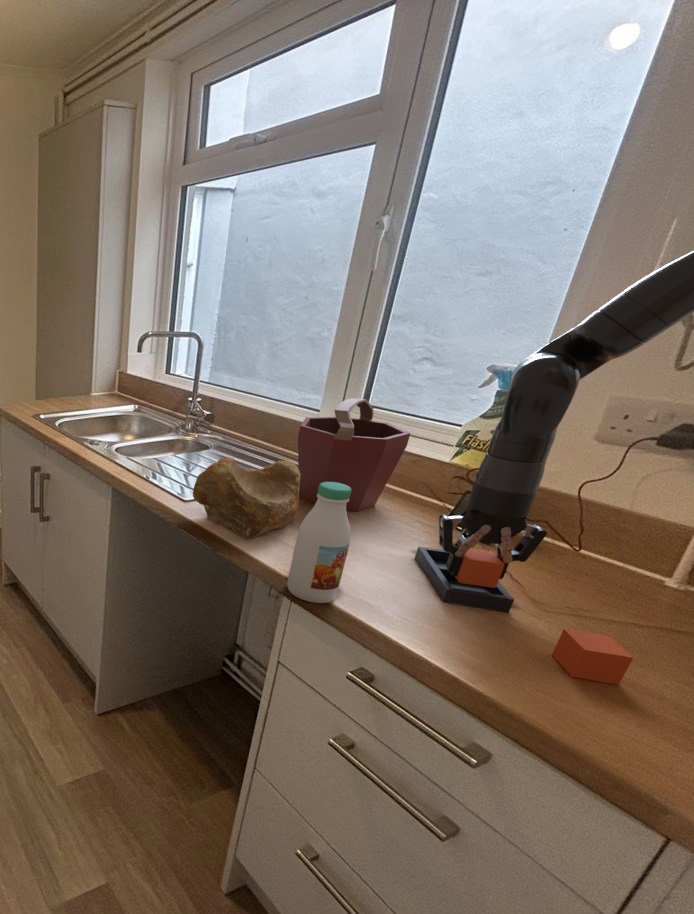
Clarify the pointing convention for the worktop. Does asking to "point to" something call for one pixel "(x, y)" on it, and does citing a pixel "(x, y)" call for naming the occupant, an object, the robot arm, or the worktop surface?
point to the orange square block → (480, 568)
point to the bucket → (349, 453)
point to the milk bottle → (321, 546)
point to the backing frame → (460, 584)
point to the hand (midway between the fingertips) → (472, 576)
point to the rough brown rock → (249, 496)
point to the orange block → (592, 656)
